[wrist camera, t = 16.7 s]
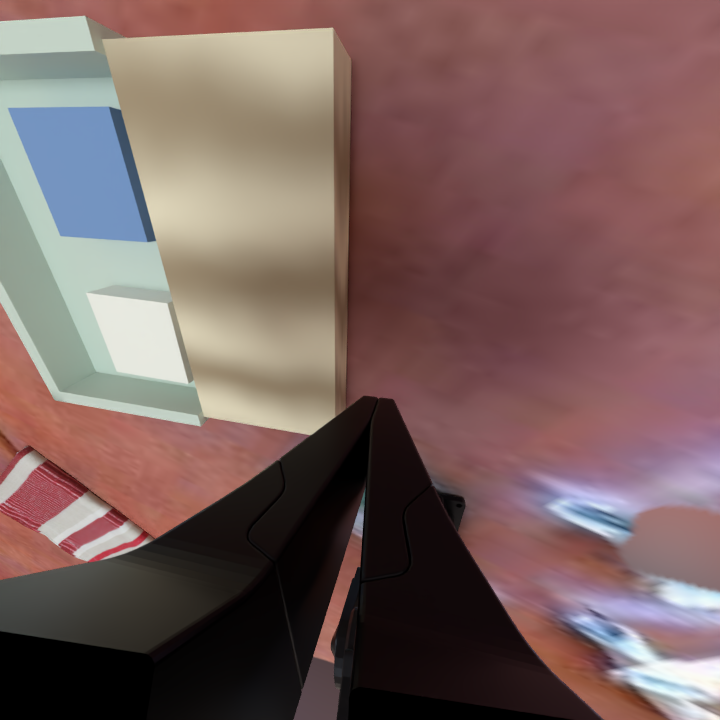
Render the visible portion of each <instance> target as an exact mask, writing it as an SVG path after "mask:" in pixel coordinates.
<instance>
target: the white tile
mask: <svg viewBox="0 0 720 720" xmlns="http://www.w3.org/2000/svg"><path fill="white" fill-rule="evenodd" d="M86 294H87V297H88V299H89V302H90V305H91V307H92V310H93V312H94V315H95V317H96V320H97V322H98V325H99V328H100V330H101V333H102V335H103V338H104V340H105V343H106V345H107V348H108V351H109V353H110V356H111V358H112V361H113V363H114V366H115V368H116V371H117V372H122V373H127V374H133V375H139V376H145V377H151V378H156V379H162V380H168V381H174V382H180V383H185V384H189V383H191V382H192V381H193V380H194V378H193V375H192V371H191V367H190V364H189V360H188V356H187V352H186V349H185V345H184V341H183V338H182V334H181V330H180V327H179V323H178V319H177V316H176V312H175V308H174V304H173V301H172V297H171V293H170V292H166V291H157V290H149V289H141V288H133V287H125V286H117V285H112V286H109V287H105V288H101V289H98V290H94V291H90V292H87V293H86Z"/></svg>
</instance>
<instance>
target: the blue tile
mask: <svg viewBox="0 0 720 720" xmlns="http://www.w3.org/2000/svg"><path fill="white" fill-rule="evenodd" d="M8 110H9V113H10V115H11V118H12V120H13V123H14V125H15V127H16V130H17V132H18V135H19V137H20V139H21V142H22V144H23V147H24V149H25V152H26V154H27V156H28V159H29V161H30V164H31V166H32V169H33V171H34V173H35V176H36V178H37V181H38V183H39V185H40V188H41V190H42V193H43V195H44V198H45V200H46V202H47V205H48V207H49V210H50V212H51V214H52V217H53V219H54V222H55V224H56V227H57V229H58V231H59V234H60V236H64V237H79V238H93V239H107V240H122V241H136V242H153V241H156V238H155V234H154V230H153V227H152V223H151V219H150V216H149V212H148V208H147V205H146V201H145V197H144V193H143V190H142V186H141V182H140V179H139V175H138V171H137V168H136V164H135V160H134V157H133V153H132V149H131V145H130V142H129V138H128V134H127V131H126V127H125V123H124V120H123V116H122V112H121V110H119V109H116V108H112V107H109V106H108V107H34V108H8Z"/></svg>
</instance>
